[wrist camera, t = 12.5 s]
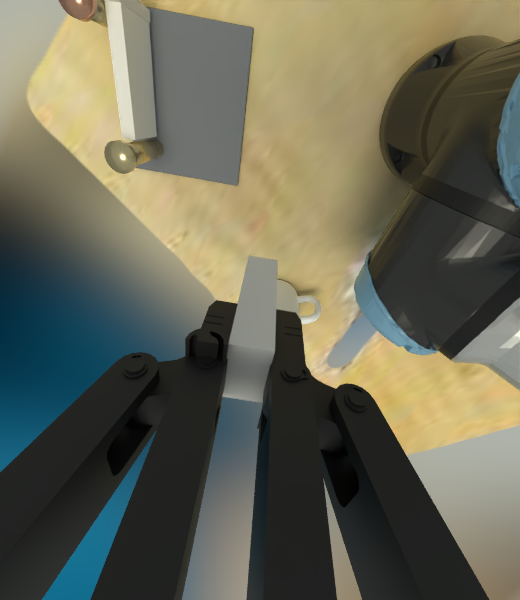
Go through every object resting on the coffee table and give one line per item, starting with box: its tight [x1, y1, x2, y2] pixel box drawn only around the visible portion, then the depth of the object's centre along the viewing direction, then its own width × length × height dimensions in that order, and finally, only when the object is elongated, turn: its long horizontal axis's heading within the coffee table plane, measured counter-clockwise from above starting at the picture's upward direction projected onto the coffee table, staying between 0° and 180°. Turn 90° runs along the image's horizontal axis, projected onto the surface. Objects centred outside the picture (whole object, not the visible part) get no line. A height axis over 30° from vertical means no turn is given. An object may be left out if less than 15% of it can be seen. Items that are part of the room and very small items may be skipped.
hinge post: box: [104, 139, 164, 174], centre depth 34 cm, size 3×3×11 cm
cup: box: [276, 280, 321, 324], centre depth 47 cm, size 8×12×10 cm
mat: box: [133, 7, 254, 186], centre depth 35 cm, size 15×17×1 cm
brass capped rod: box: [59, 0, 108, 28], centre depth 27 cm, size 3×3×11 cm
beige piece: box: [104, 0, 157, 140], centre depth 30 cm, size 12×2×7 cm, turn 172°
